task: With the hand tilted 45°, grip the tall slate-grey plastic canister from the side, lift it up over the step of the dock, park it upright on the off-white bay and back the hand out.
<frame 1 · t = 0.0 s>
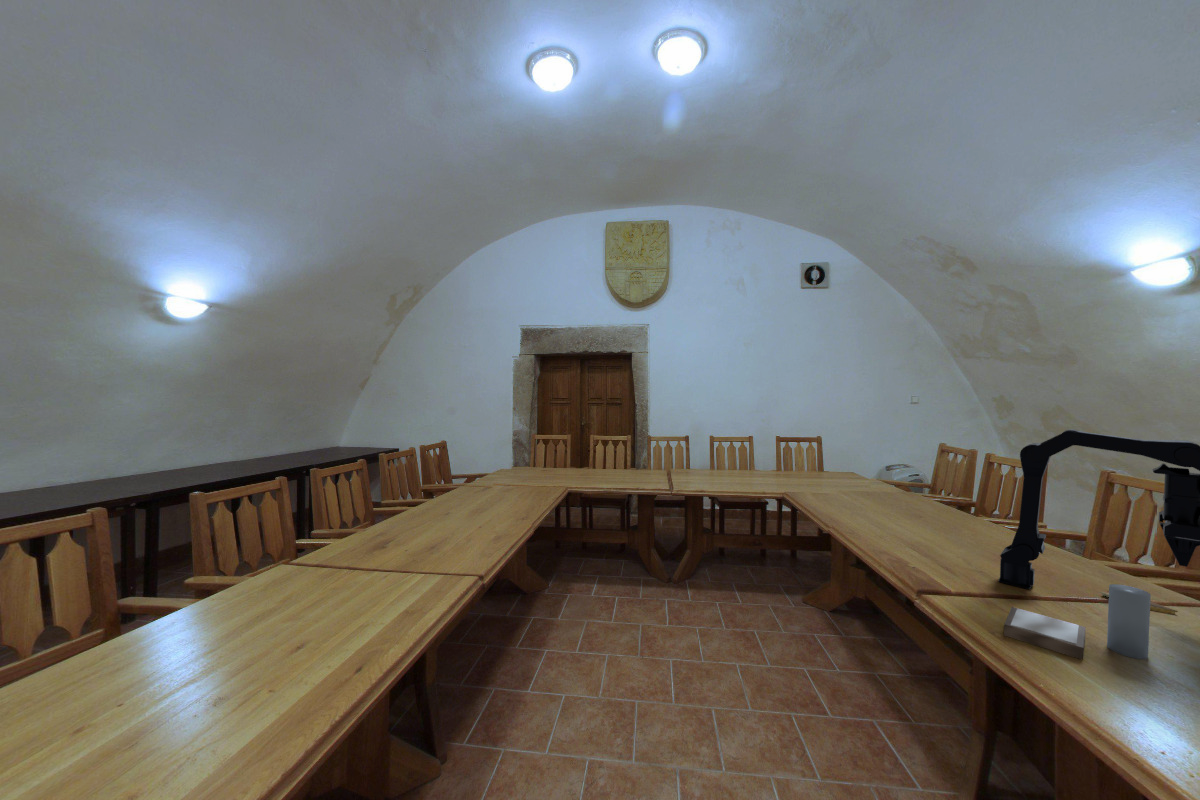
hand: (1181, 560, 105), 15 cm above the table, tool pointing down, fingers open, 9 cm apart
shard: (1135, 604, 116), on the table
dock: (1044, 636, 99), on the table
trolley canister: (1127, 651, 94), on the table
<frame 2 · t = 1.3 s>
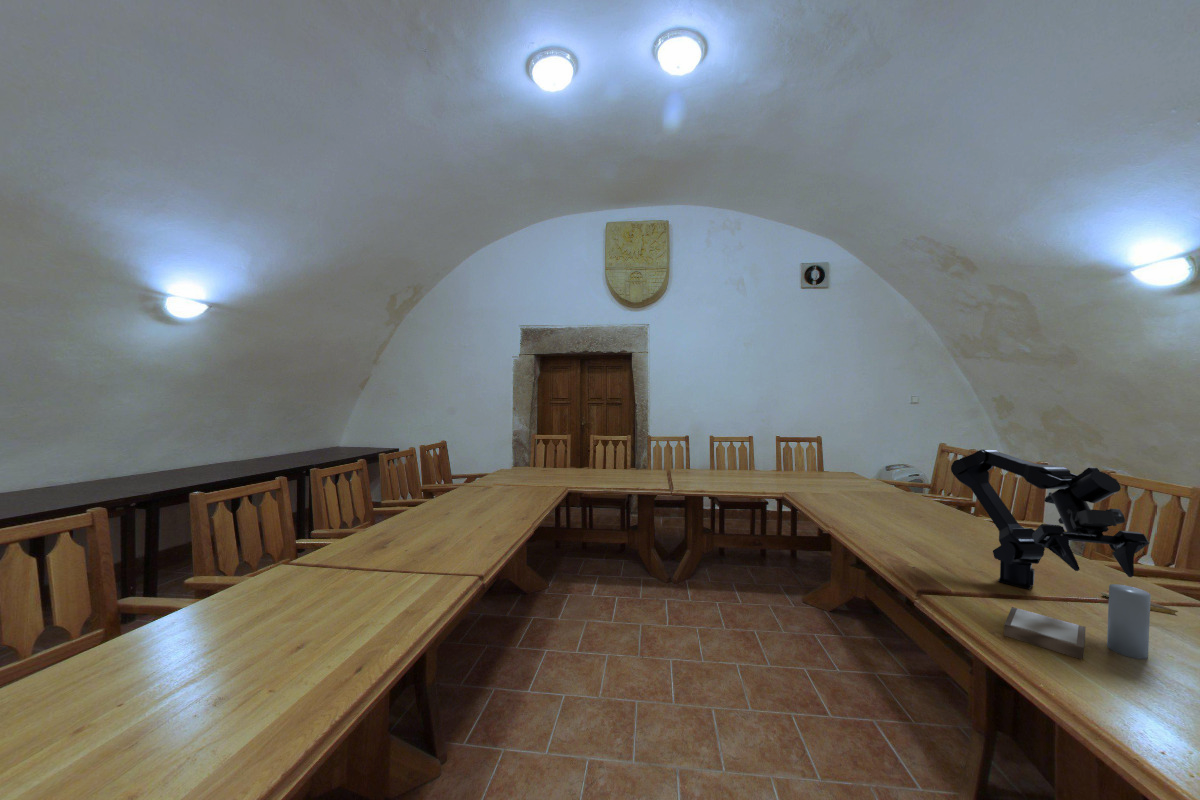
hand: (1104, 573, 101), 13 cm above the table, tool tilted 45°, fingers open, 9 cm apart
nothing on the table moved.
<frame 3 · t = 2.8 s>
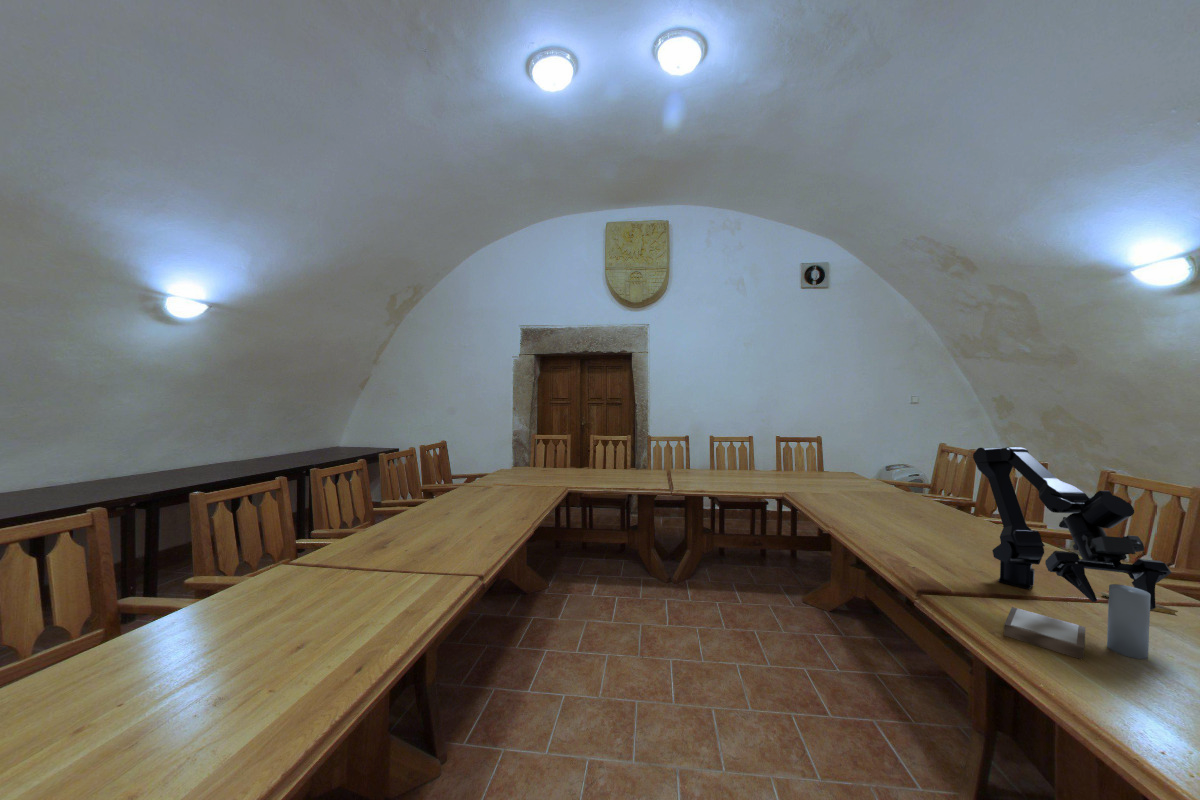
hand: (1123, 605, 95), 9 cm above the table, tool tilted 45°, fingers open, 9 cm apart
nothing on the table moved.
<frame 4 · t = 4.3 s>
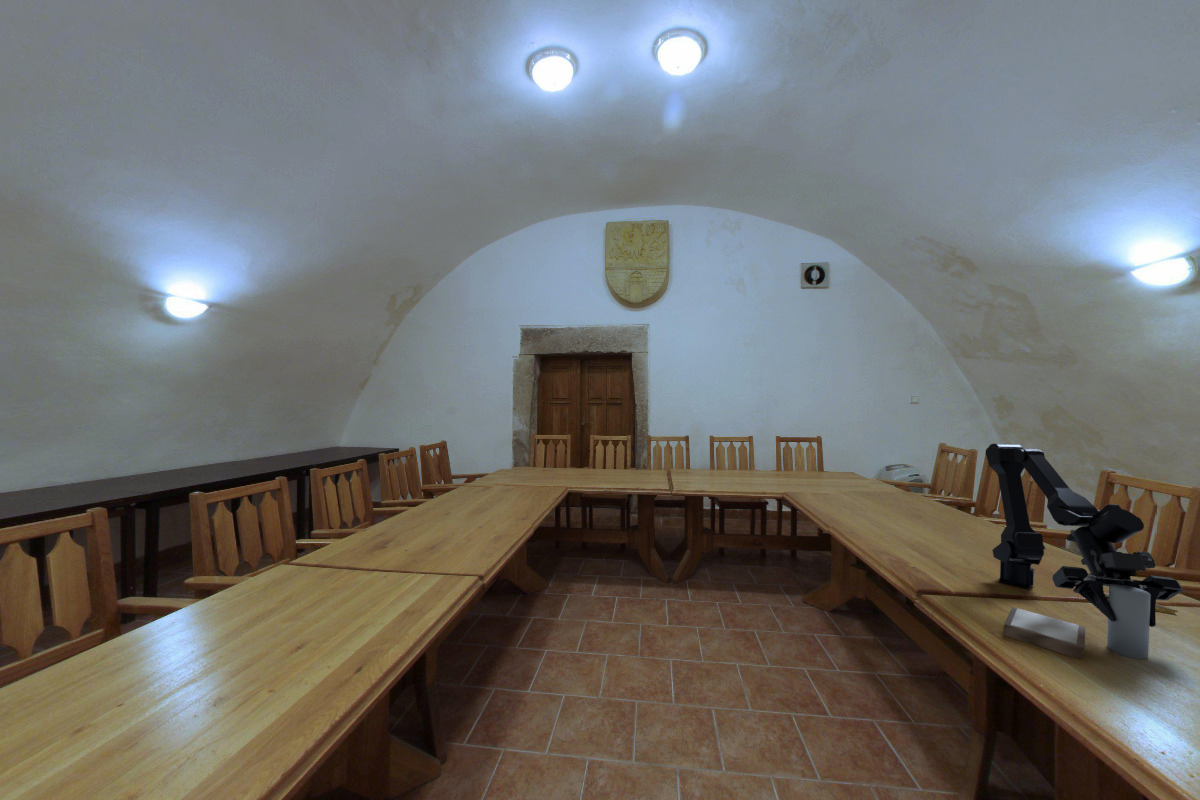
hand: (1133, 623, 93), 7 cm above the table, tool tilted 45°, fingers closed on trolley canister, 6 cm apart
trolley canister: (1127, 651, 94), on the table, touching gripper
everything else where it was.
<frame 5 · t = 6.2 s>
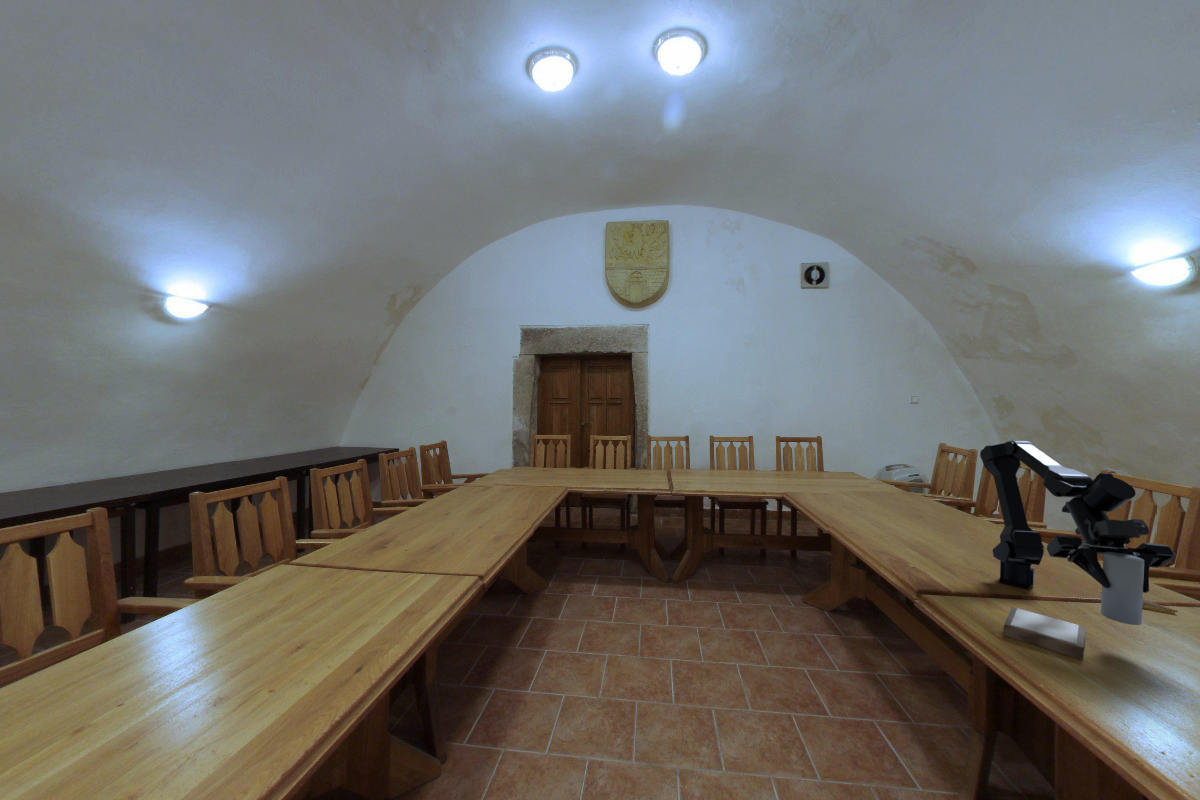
hand: (1126, 589, 93), 13 cm above the table, tool tilted 45°, fingers closed on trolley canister, 6 cm apart
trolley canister: (1120, 617, 94), point 7 cm above the table, touching gripper
everything else where it was.
when the fingers open (10 cm above the table, at t = 8.3 s): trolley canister drops 1 cm, resting on dock.
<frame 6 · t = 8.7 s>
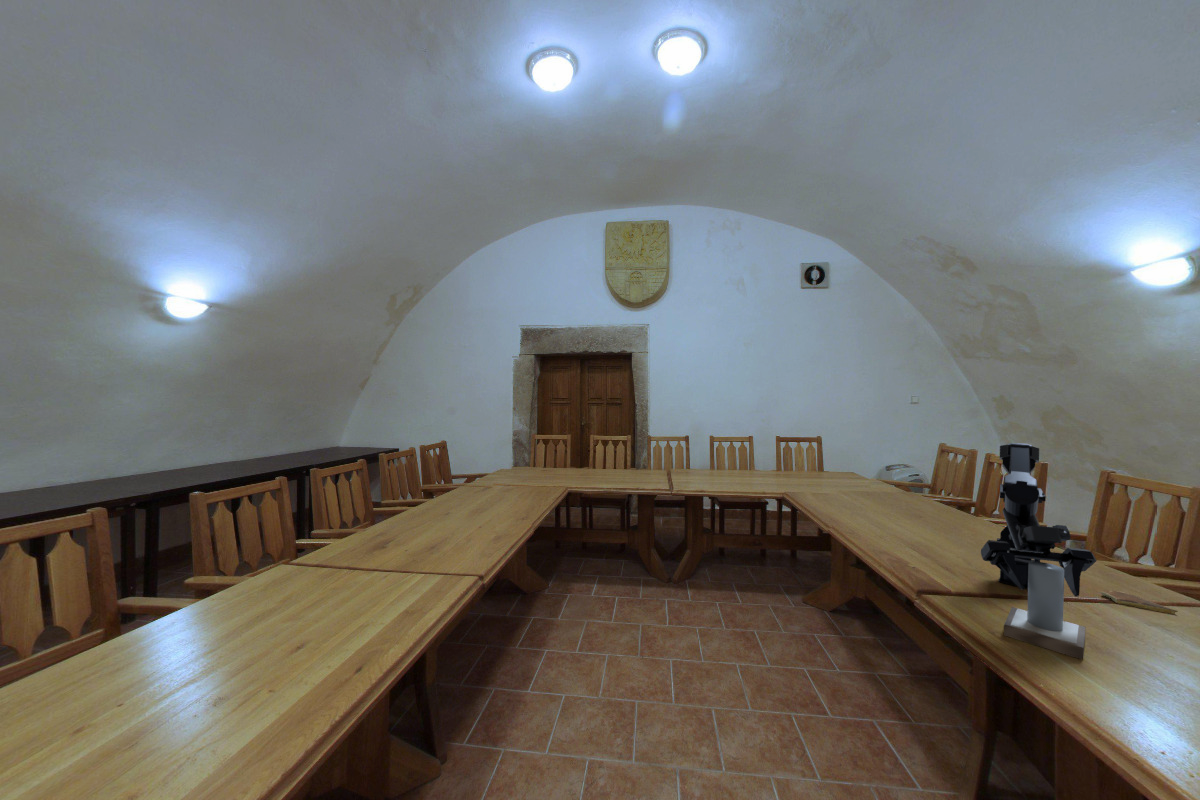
hand: (1049, 592, 98), 11 cm above the table, tool tilted 45°, fingers open, 9 cm apart
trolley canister: (1044, 624, 99), point 3 cm above the table, touching dock
everything else where it was.
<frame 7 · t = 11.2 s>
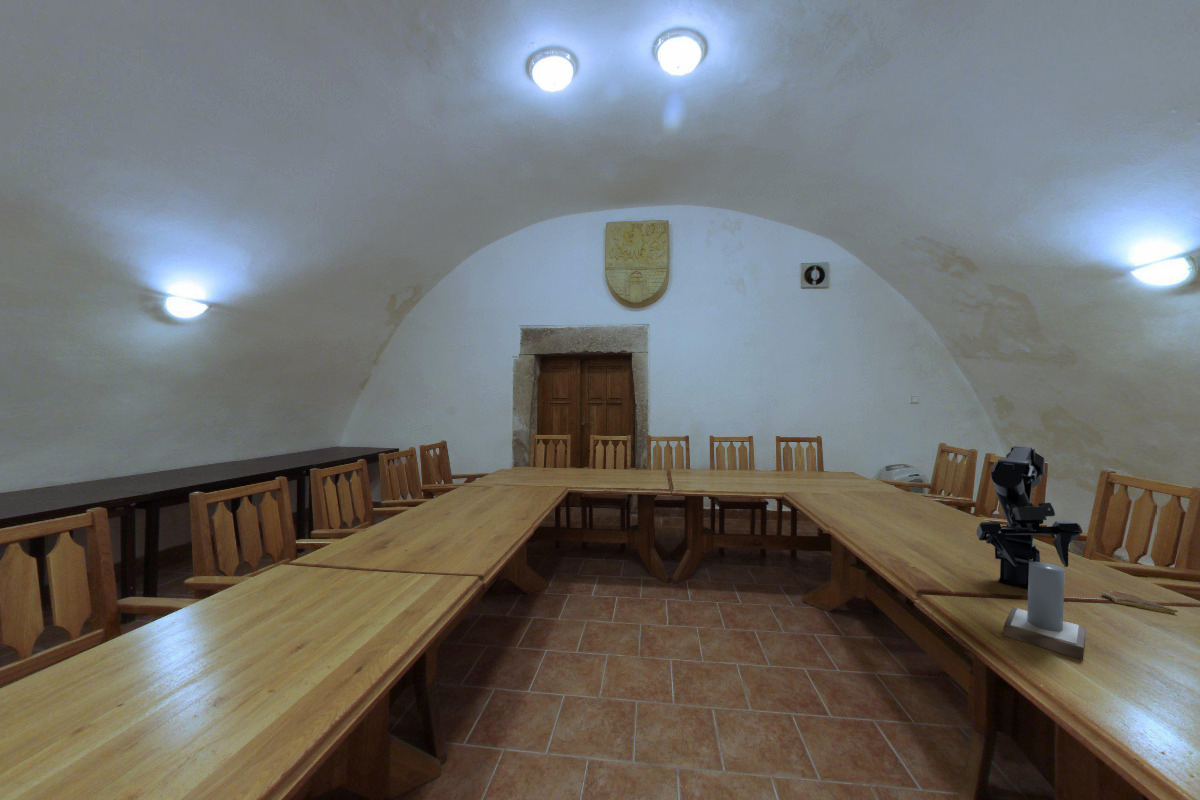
hand: (1040, 566, 106), 13 cm above the table, tool tilted 40°, fingers open, 9 cm apart
nothing on the table moved.
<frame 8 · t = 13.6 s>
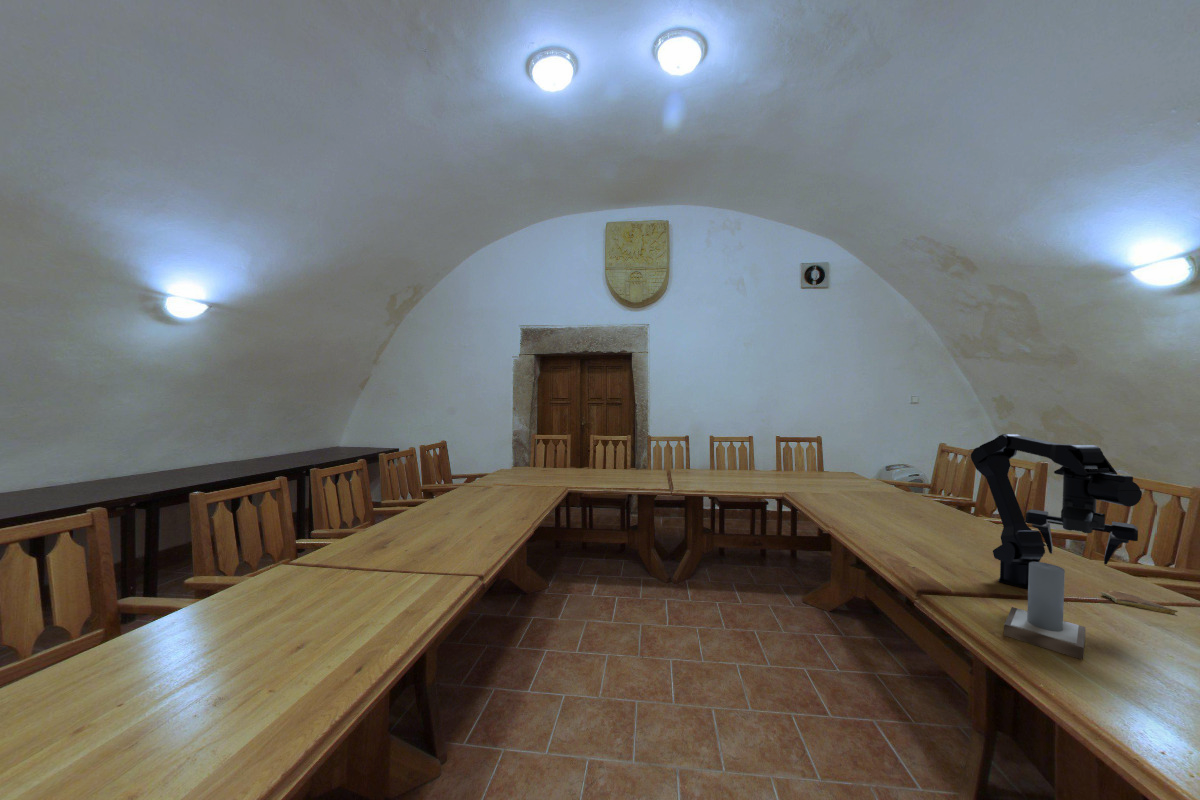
hand: (1077, 558, 111), 13 cm above the table, tool pointing down, fingers open, 9 cm apart
nothing on the table moved.
at the end: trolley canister inside the target area on the dock (0.0 cm from its centre), point 2.7 cm above the dock's base; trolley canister tilted 0°; the gripper is holding nothing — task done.
